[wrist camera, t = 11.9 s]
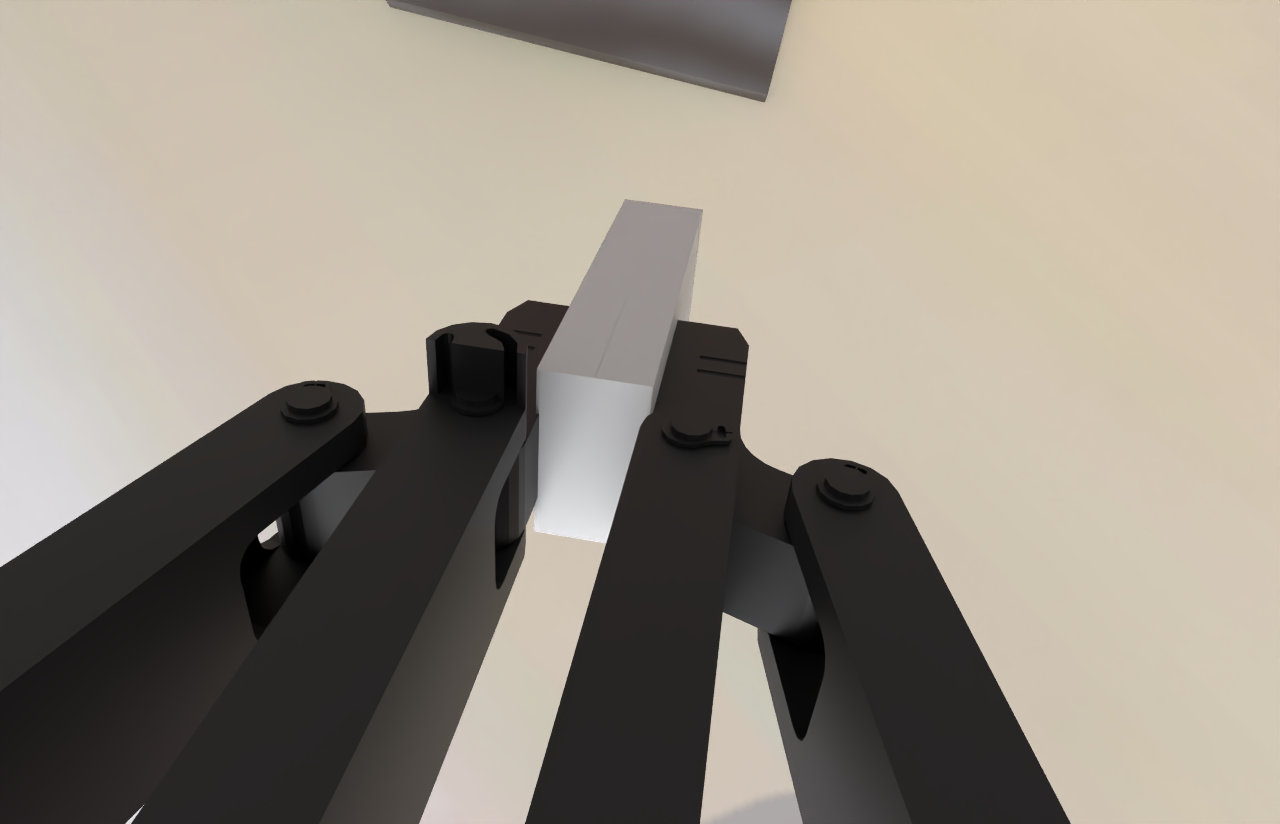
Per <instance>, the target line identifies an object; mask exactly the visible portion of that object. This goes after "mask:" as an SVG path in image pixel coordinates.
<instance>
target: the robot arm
mask: <svg viewBox="0 0 1280 824" xmlns="http://www.w3.org/2000/svg"><path fill="white" fill-rule="evenodd" d="M702 213H703V210H701V209H694V208H686V207H679V206H671V205H664V204H657V203H649V202H642V201H634V200H627V199H625V201H624V202H623V204H622V206H621V208H620V210H619V212H618V214H617V216H616V218H615V220H614V222H613V224H612V226H611V227H610V229H609V231H608V233H607V235H606V237H605V239H604V241H603V243H602V245H601V247H600V249H599V251H598V252H597V254H596V256H595V258H594V260H593V262H592V264H591V266H590V268H589V270H588V272H587V274H586V275H585V277H584V279H583V281H582V283H581V285H580V287H579V289H578V291H577V293H576V295H575V297H574V299H573V300H572V302H571V304H570V306H564V305H557V304H550V303H543V302H537V301H530V300H528V301H526V302H524V303H522V304H521V305H519V306H517V307H515V308H514V309H512V310H510V311H508V312H507V313H506V315H505V316H504V318H503V319H502V321H501V322H500V324H499V325H496V324H492V323H476V322H470V323H462V324H455V325H451V326H448V327H445V328H442V329H440V330H437V331H435V332H434V333H433V334H432V335H430V336H429V337H428V338H427V339H426V350H427V365H428V381H429V395H428V396H427V397H426V399H425V400H424V402H423V403H422V405H421V406H420V408H419V409H417V410H411V411H401V412H380V413H366V412H365V404H364V400H363V398H362V397H361V395H360V394H359V392H358V391H357V390H355V389H353V388H351V387H349V386H347V385H345V384H341V383H335V382H330V381H318V380H317V381H305V382H302V383H297V384H293V385H288V386H285V387H283V388H281V389H279V390H277V391H274V392H272V393H270V394H268V395H267V396H265V397H264V398H262V399H261V400H259V401H257V402H256V403H254V404H253V405H251V406H250V407H248V408H247V409H245V410H244V411H242V412H240V413H239V414H237V415H236V416H234V417H233V418H231V419H230V420H228V421H226V422H225V423H223V424H222V425H220V426H219V427H217V428H216V429H214V430H213V431H211V432H209V433H208V434H206V435H205V436H203V437H202V438H200V439H199V440H197V441H195V442H194V443H192V444H191V445H189V446H188V447H186V448H185V449H183V450H181V451H180V452H178V453H177V454H175V455H174V456H172V457H171V458H169V459H168V460H166V461H164V462H163V463H161V464H160V465H158V466H157V467H155V468H154V469H152V470H150V471H149V472H147V473H146V474H144V475H143V476H141V477H140V478H138V479H137V480H135V481H133V482H132V483H130V484H129V485H127V486H126V487H124V488H123V489H121V490H119V491H118V492H116V493H115V494H113V495H112V496H110V497H109V498H107V499H105V500H104V501H102V502H101V503H99V504H98V505H96V506H95V507H93V508H92V509H90V510H88V511H87V512H85V513H84V514H82V515H81V516H79V517H78V518H76V519H74V520H73V521H71V522H70V523H68V524H67V525H65V526H64V527H62V528H61V529H59V530H57V531H56V532H54V533H53V534H51V535H50V536H48V537H47V538H45V539H43V540H42V541H40V542H39V543H37V544H36V545H34V546H33V547H31V548H29V549H28V550H26V551H25V552H23V553H22V554H20V555H19V556H17V557H16V558H14V559H12V560H11V561H9V562H8V563H6V564H5V565H3V566H2V567H0V824H125V823H126V822H127V821H128V820H129V819H130V818H131V817H132V816H133V815H134V814H135V813H136V812H137V811H138V810H139V809H140V808H141V807H142V806H143V805H144V806H143V807H142V809H141V810H140V812H139V813H138V815H137V816H136V817H135V819H134V820H133V822H132V823H131V824H419V822H420V820H421V817H422V815H423V812H424V809H425V807H426V804H427V802H428V799H429V797H430V794H431V792H432V789H433V787H434V784H435V782H436V779H437V776H438V774H439V771H440V769H441V766H442V764H443V761H444V759H445V756H446V754H447V751H448V749H449V746H450V743H451V741H452V738H453V736H454V733H455V731H456V728H457V726H458V723H459V721H460V718H461V716H462V713H463V710H464V708H465V705H466V703H467V700H468V698H469V695H470V693H471V690H472V688H473V685H474V682H475V680H476V677H477V675H478V672H479V670H480V667H481V665H482V662H483V660H484V657H485V655H486V652H487V649H488V647H489V644H490V642H491V639H492V637H493V634H494V632H495V629H496V627H497V624H498V622H499V619H500V616H501V614H502V611H503V609H504V606H505V604H506V601H507V599H508V596H509V594H510V591H511V589H512V586H513V583H514V581H515V578H516V576H517V573H518V571H519V568H520V566H521V563H522V561H523V558H524V554H525V545H526V524H527V522H528V519H529V517H530V515H531V512H532V510H533V507H534V531H536V532H542V533H548V534H554V535H560V536H566V537H571V538H577V539H583V540H589V541H595V542H601V543H606V546H605V549H604V553H603V556H602V560H601V563H600V567H599V570H598V574H597V577H596V581H595V584H594V587H593V591H592V594H591V598H590V601H589V605H588V608H587V612H586V615H585V619H584V622H583V625H582V629H581V632H580V636H579V639H578V643H577V646H576V650H575V653H574V657H573V660H572V663H571V667H570V670H569V674H568V677H567V681H566V684H565V688H564V691H563V694H562V698H561V701H560V705H559V708H558V712H557V715H556V719H555V722H554V726H553V729H552V732H551V736H550V739H549V743H548V746H547V750H546V753H545V757H544V760H543V764H542V767H541V770H540V774H539V777H538V781H537V784H536V788H535V791H534V795H533V798H532V802H531V805H530V808H529V812H528V815H527V819H526V822H525V824H700V817H701V808H702V799H703V789H704V780H705V771H706V761H707V752H708V743H709V734H710V724H711V715H712V706H713V696H714V687H715V678H716V669H717V659H718V650H719V641H720V632H721V622H722V613H723V612H724V613H726V614H729V615H731V616H733V617H735V618H737V619H740V620H742V621H744V622H746V623H748V624H751V625H753V626H755V627H757V628H758V644H759V648H760V652H761V656H762V660H763V664H764V668H765V673H766V677H767V681H768V685H769V689H770V693H771V697H772V701H773V705H774V709H775V713H776V717H777V721H778V725H779V729H780V733H781V737H782V741H783V745H784V749H785V753H786V757H787V761H788V765H789V769H790V773H791V777H792V781H793V785H794V789H795V793H796V797H797V801H798V805H799V809H800V813H801V817H802V821H803V824H1071V823H1070V821H1069V819H1068V818H1067V816H1066V814H1065V812H1064V810H1063V808H1062V806H1061V804H1060V802H1059V800H1058V798H1057V796H1056V794H1055V793H1054V791H1053V789H1052V787H1051V785H1050V783H1049V781H1048V779H1047V777H1046V775H1045V773H1044V771H1043V769H1042V768H1041V766H1040V764H1039V762H1038V760H1037V758H1036V756H1035V754H1034V752H1033V750H1032V748H1031V746H1030V744H1029V743H1028V741H1027V739H1026V737H1025V735H1024V733H1023V731H1022V729H1021V727H1020V725H1019V723H1018V721H1017V719H1016V718H1015V716H1014V714H1013V712H1012V710H1011V708H1010V706H1009V704H1008V702H1007V700H1006V698H1005V696H1004V694H1003V693H1002V691H1001V689H1000V687H999V685H998V683H997V681H996V679H995V677H994V675H993V673H992V671H991V669H990V668H989V666H988V664H987V662H986V660H985V658H984V656H983V654H982V652H981V650H980V648H979V646H978V644H977V643H976V641H975V639H974V637H973V635H972V633H971V631H970V629H969V627H968V625H967V623H966V621H965V619H964V618H963V616H962V614H961V612H960V610H959V608H958V606H957V604H956V602H955V600H954V598H953V596H952V594H951V593H950V591H949V589H948V587H947V585H946V583H945V581H944V579H943V577H942V575H941V573H940V571H939V569H938V568H937V566H936V564H935V562H934V560H933V558H932V556H931V554H930V552H929V550H928V548H927V546H926V544H925V543H924V541H923V539H922V537H921V535H920V533H919V531H918V529H917V527H916V525H915V523H914V521H913V519H912V518H911V516H910V514H909V512H908V510H907V508H906V506H905V504H904V502H903V500H902V498H901V496H900V494H899V493H898V491H897V490H896V489H895V487H894V486H893V485H892V484H891V483H890V481H889V480H888V479H887V478H885V477H884V476H882V475H881V474H879V473H878V472H876V471H875V470H873V469H872V468H869V467H867V466H864V465H861V464H858V463H856V462H853V461H848V460H840V459H833V458H829V459H820V460H812V461H810V462H808V463H806V464H804V465H802V466H800V467H799V468H798V469H797V471H796V472H795V473H794V475H791V474H788V473H785V472H783V471H780V470H778V469H776V468H773V467H771V466H769V465H767V464H765V463H763V462H762V461H761V460H759V459H758V458H756V457H755V456H753V454H752V453H751V452H750V451H749V450H748V449H747V448H746V447H745V445H744V443H743V441H742V439H741V435H740V423H741V414H742V405H743V395H744V386H745V377H746V367H747V358H748V349H749V345H748V343H747V342H746V340H745V339H744V337H743V336H742V334H741V333H740V331H739V330H738V329H736V328H730V327H723V326H716V325H709V324H702V323H695V322H689V315H690V307H691V299H692V292H693V284H694V276H695V268H696V260H697V252H698V244H699V236H700V229H701V221H702ZM275 520H276V523H277V528H278V532H277V533H276V534H275V535H274V536H272V537H271V538H270V539H269V540H267V541H265V542H263V543H260V542H259V539H258V534H259V533H260V532H262V531H263V530H264V529H265V528H266V527H268V526H269V525H270V524H271V523H273V522H274V521H275Z"/></svg>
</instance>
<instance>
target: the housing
mask: <svg viewBox="0 0 1280 824" xmlns="http://www.w3.org/2000/svg"><path fill="white" fill-rule="evenodd" d="M386 1H387V3H388V4H389V6H390V7H393V8H396V9H400V10H404V11H408V12H412V13H416V14H420V15H424V16H428V17H432V18H436V19H440V20H443V21H447V22H451V23H455V24H459V25H463V26H467V27H471V28H475V29H479V30H483V31H487V32H491V33H494V34H498V35H502V36H506V37H510V38H514V39H518V40H522V41H526V42H530V43H534V44H538V45H542V46H545V47H549V48H553V49H557V50H561V51H565V52H569V53H573V54H577V55H581V56H585V57H589V58H593V59H596V60H600V61H604V62H608V63H612V64H616V65H620V66H624V67H628V68H632V69H636V70H640V71H644V72H647V73H651V74H655V75H659V76H663V77H667V78H671V79H675V80H679V81H683V82H687V83H691V84H695V85H698V86H702V87H706V88H710V89H714V90H718V91H722V92H726V93H730V94H734V95H738V96H742V97H746V98H749V99H753V100H757V101H761V102H765V100H766V97H767V94H768V91H769V87H770V83H771V79H772V75H773V71H774V67H775V63H776V59H777V56H778V52H779V48H780V44H781V40H782V36H783V32H784V28H785V24H786V20H787V17H788V13H789V9H790V5H791V1H792V0H386Z"/></svg>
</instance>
